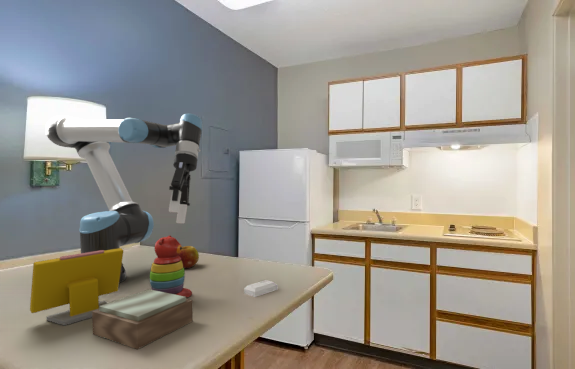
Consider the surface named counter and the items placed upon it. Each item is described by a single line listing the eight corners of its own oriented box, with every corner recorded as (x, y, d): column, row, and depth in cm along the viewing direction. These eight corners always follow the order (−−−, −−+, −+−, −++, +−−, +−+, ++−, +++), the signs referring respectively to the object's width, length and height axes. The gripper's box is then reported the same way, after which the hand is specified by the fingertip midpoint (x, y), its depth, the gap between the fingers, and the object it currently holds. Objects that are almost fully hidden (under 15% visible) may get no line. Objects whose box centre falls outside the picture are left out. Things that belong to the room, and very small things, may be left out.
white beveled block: (244, 294, 100) (243, 285, 100) (266, 287, 106) (266, 279, 106) (254, 298, 96) (254, 289, 96) (277, 290, 103) (277, 281, 103)
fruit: (168, 269, 130) (168, 248, 130) (182, 263, 139) (182, 244, 139) (190, 270, 127) (190, 249, 127) (203, 264, 136) (202, 245, 136)
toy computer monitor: (116, 300, 96) (114, 245, 96) (129, 306, 91) (127, 248, 91) (30, 324, 81) (28, 258, 81) (40, 333, 76) (38, 262, 76)
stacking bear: (175, 307, 90) (173, 240, 90) (141, 305, 92) (139, 239, 92) (194, 293, 101) (193, 233, 100) (163, 292, 103) (162, 233, 102)
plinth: (92, 334, 75) (92, 307, 75) (150, 310, 88) (149, 287, 88) (137, 349, 67) (136, 319, 67) (192, 321, 80) (192, 296, 80)
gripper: (193, 140, 103) (183, 207, 96) (201, 172, 126) (193, 227, 119) (167, 138, 102) (156, 205, 95) (180, 170, 125) (171, 226, 118)
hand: (177, 218), depth 107 cm, fingers open, 13 cm apart
